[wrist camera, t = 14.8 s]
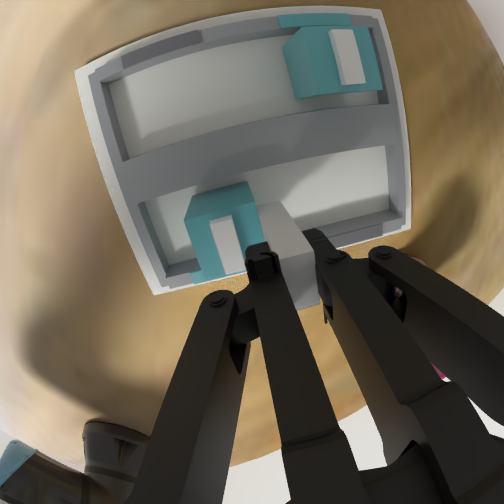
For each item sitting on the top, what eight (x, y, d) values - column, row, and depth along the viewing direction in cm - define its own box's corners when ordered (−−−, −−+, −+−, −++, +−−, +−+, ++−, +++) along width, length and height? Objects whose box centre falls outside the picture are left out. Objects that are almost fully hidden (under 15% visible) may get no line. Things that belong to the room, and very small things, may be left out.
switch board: (155, 288, 24) (149, 311, 21) (80, 72, 15) (60, 68, 12) (405, 224, 24) (424, 239, 21) (375, 12, 14) (395, 2, 11)
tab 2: (294, 99, 17) (322, 93, 12) (281, 47, 15) (304, 23, 10) (346, 93, 17) (388, 89, 12) (335, 43, 15) (372, 24, 10)
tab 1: (208, 244, 21) (204, 286, 16) (192, 195, 19) (182, 224, 14) (259, 231, 21) (271, 269, 16) (246, 180, 19) (256, 204, 14)
